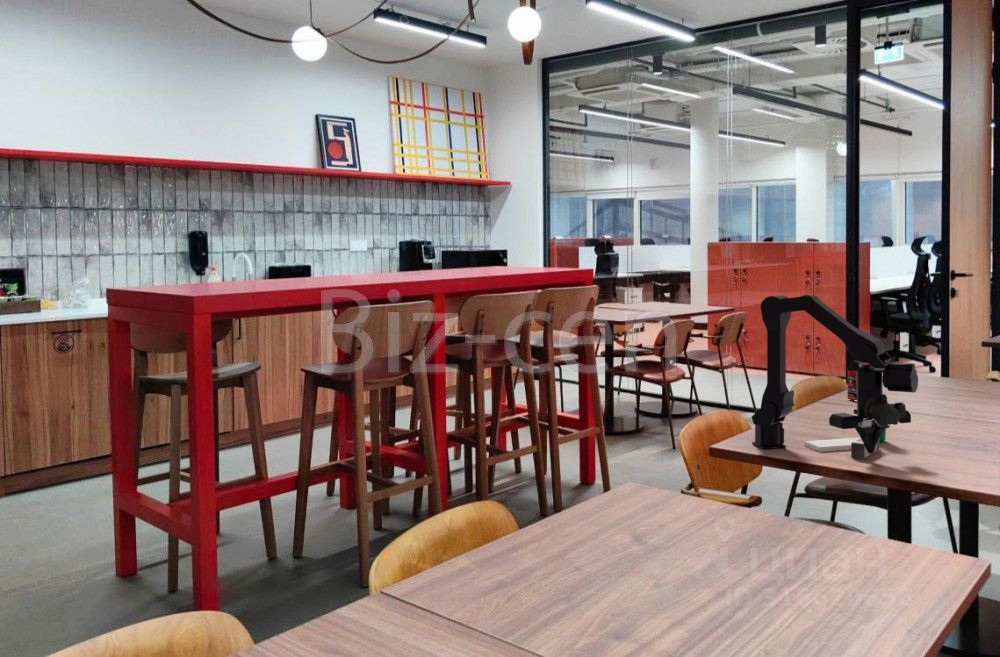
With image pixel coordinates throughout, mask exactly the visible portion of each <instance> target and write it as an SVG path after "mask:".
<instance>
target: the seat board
mask: <svg viewBox="0 0 1000 657" xmlns="http://www.w3.org/2000/svg"><path fill="white" fill-rule="evenodd" d="M859 439H861V437H848V438H846V437H845V438H835V439H834V438H833V439H820V440H819V439H818V440H805V441H803V442H804V447H806V448H809V449H811V450H814V451H817V452H819V453H821V452H824V453H825V452H835V451H836V450H839V451H850V450H849V449H851V443H852V442H855V441H857V440H859ZM880 450H881V449H880V448H879V450H877V451H878V452H881V451H882V450H881V451H880Z"/></svg>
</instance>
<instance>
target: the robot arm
mask: <svg viewBox="0 0 1000 657" xmlns="http://www.w3.org/2000/svg"><path fill="white" fill-rule="evenodd" d="M800 311H801V312H802V311H803V312H806V313H807V314H808V315H809V316H811V317H812V318H813V319H815V320H816V321H817V322H818V323H819V324H820V325H822V326H823V327H825V328H826V329H827V330H828V331H830V332H831V333H833V335H835V336H836V337H837V338H838V339H840V340H841V341H842V342H843V344H844V345H845V348H846V349H847V350H848V352H849V353H850V354H851V355H852V356H853V357H854V358H855V359H856V360H854V361H853V363H852V364H851V365H849V367H847V368H846V369H847V372H848V371H856V373H857V393H853V395H854V397H855V398H857V402H856V409H855V408H854V409H853V414H851V413H847V412H839V413H837V412H836V413H831V415H830V416H829V418H828V419H829V420H828V423H829V424H828V425H829V426H831V427H835V428H838V429H842V430H849V429H855V431H856V432H857V434H858V436H859V438H861V439H862V441H863V443H864V445H865V447H866V449H867V451H868V453H870V454H871V455H872V454H874V453H875V452H874V449H875V446H876V444H877V441H878V439H879V436H880V434H881V433H882V431H884V430H885V429H889V428H890V427H891V425H893V426H895V425H896V426H897V425H898V424H908V423H909V424H911V422H912V414H911V412H910V411H909V410H907V408H906V404H905V403H903V402H895V403H890V402H888V397H887V394H884V393H883V392H884V391H883V387H884V388H886V390H887V391H888V392H901V393H912V394H913V393H916V392H917V390H918V387H919V376H918V373H917V369H916V365H915V362H914V363H913V362H911V363H910V362H908V363H896V362H895V360H893V359H892V357H891V356H890V355H889V353H888V352H887V351H886V345H885V343H884V342H883V341H882V340H881V339H880V338H879V337H876V336H874V335H873V334H871V333H870V332H867V331H864V330H862V329H859V328H857V327H856V326H854V325H852V324H851V323H850V322H849V321H847V320H846V319H845V318H844V317H842V316H841V315H840V314H838V313H837V312H836V311H834V310H833V309H832V308H831V307H829V306H828V305H827V304H826V303H824V302H823V301H822V300H821V299H820V298H818V296H817V295H815V294H811V293H810V294H803V295H801V296H795V297H788V296H786V295H784V294H778V295H770V296H767V297H765V298H764V299H763V300H762V301H761V303H760V313H761V319H762V322H763V325H764V327H765V329H766V362H767V363H766V387H765V389H764V391H763V393H762V398H761V403H760V408H759V409H758V410H757V411H756V412H755V413H753V415H751V421H752V423H753V425H754V441H752V442H751V444H752V445H754V446H756V447H758V448H760V449H763V450H766V449H768V450H769V449H781V448H786V447H787V445H785V428H783V425H784V424H783V422H784V421H785V418H786V417H787V416H788V415H789V414H790V413H791V412H792V409H793V407H795V402H794V396H795V391H794V390H789V388H788V386H787V383H786V382H787V381H786V380H787V378H786V376H787V375H786V368H787V362H786V360H787V356H786V354H787V352H786V351H787V350H786V349H787V348H786V346H787V344H786V343H787V341H786V338H787V334H786V333H787V328H788V325H789V323H790V320H791V317H792V316H791V315H792V312H800ZM865 418H867V419H865ZM873 452H874V453H873Z"/></svg>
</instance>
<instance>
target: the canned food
mask: <svg viewBox="0 0 1000 657" xmlns="http://www.w3.org/2000/svg"><path fill="white" fill-rule="evenodd" d="M853 393H857V373H856V371H848V370H847V400H848V399H850V400H857V398H855V397H854V395H853Z"/></svg>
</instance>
